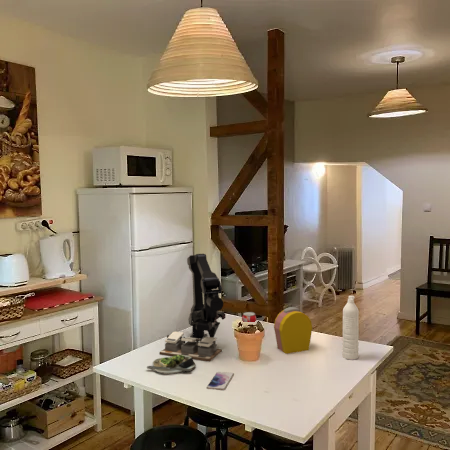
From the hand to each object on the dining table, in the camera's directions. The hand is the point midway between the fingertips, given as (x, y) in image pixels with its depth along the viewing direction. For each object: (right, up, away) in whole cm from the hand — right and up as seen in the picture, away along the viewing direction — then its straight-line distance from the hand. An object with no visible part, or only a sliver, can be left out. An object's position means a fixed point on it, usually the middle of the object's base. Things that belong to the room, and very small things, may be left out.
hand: (211, 339), depth 204 cm
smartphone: (+4, -9, -31) cm, 32 cm away
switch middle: (-9, 0, -1) cm, 9 cm away
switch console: (-9, -6, -1) cm, 11 cm away
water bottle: (+59, -5, -7) cm, 59 cm away
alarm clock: (+36, -5, +2) cm, 36 cm away
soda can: (+17, -4, +18) cm, 25 cm away
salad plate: (-14, -8, -16) cm, 23 cm away
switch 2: (-2, 0, -4) cm, 5 cm away
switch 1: (-17, 0, +2) cm, 17 cm away
